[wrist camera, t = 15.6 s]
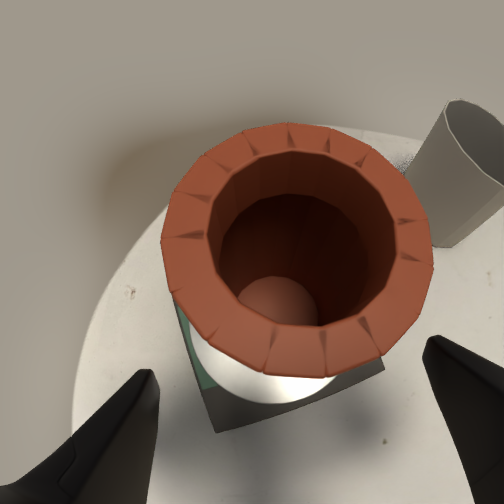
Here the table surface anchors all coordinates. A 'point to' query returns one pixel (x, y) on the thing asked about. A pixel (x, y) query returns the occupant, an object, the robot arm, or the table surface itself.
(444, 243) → the cup
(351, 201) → the jar
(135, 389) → the robot arm
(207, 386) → the scale
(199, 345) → the scale pan
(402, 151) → the table surface
